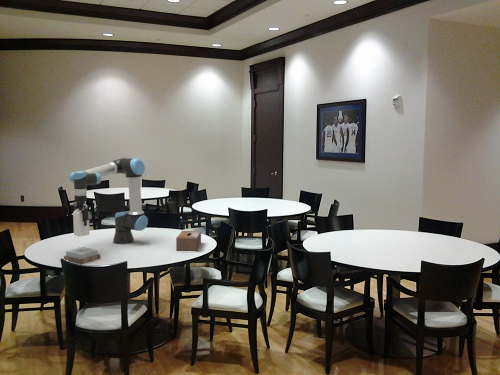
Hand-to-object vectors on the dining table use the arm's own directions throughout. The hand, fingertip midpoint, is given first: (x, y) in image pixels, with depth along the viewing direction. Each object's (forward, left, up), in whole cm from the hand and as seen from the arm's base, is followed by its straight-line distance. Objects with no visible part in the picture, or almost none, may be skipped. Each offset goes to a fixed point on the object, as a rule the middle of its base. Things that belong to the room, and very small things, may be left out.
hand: (81, 229), depth 301 cm
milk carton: (0, 0, -4) cm, 4 cm away
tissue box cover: (-70, +27, -20) cm, 78 cm away
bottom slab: (0, 0, -20) cm, 20 cm away
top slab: (0, 0, -17) cm, 17 cm away
